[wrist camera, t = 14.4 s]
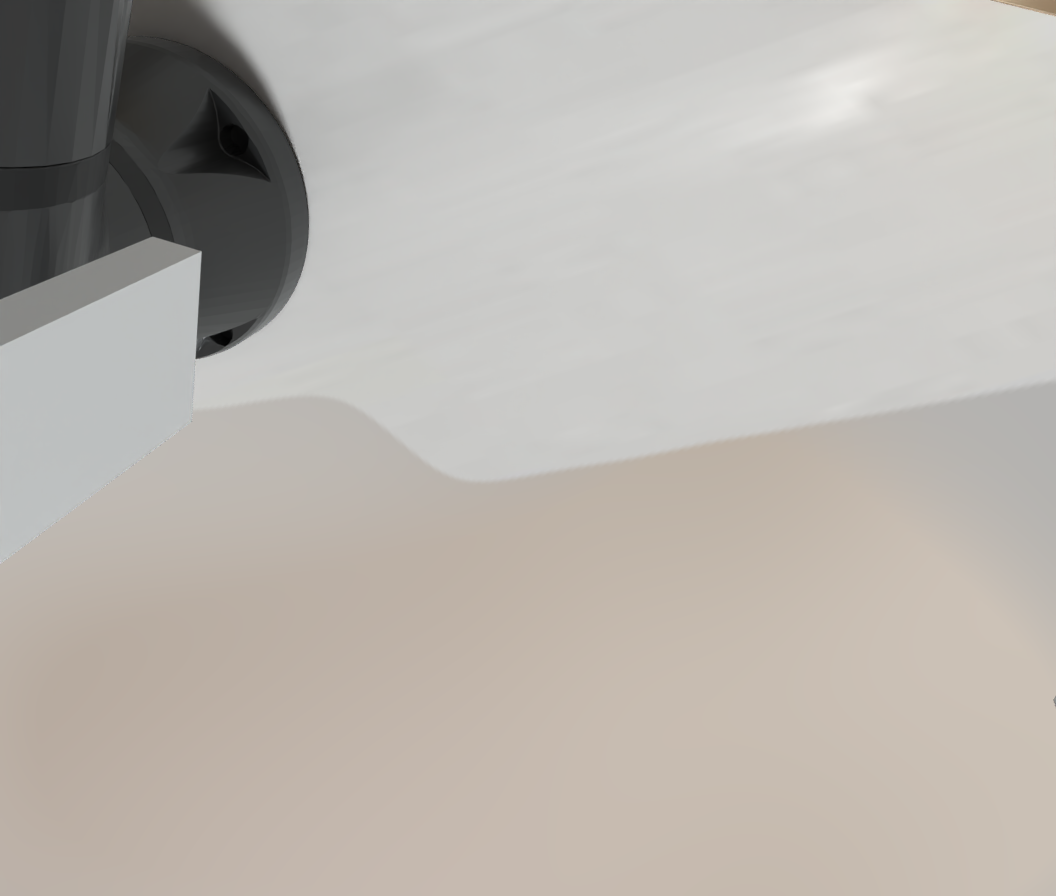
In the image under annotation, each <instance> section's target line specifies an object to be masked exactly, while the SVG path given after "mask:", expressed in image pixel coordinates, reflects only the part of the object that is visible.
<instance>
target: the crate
mask: <svg viewBox="0 0 1056 896" xmlns="http://www.w3.org/2000/svg"><path fill="white" fill-rule="evenodd" d="M992 1H996V2H1000V3H1004V4H1008V5H1012V6H1017V7H1021V8H1025V9H1029V10H1033V11H1037V12H1041V13H1045V14H1049V15H1053V16H1056V0H992Z"/></svg>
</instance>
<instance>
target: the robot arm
mask: <svg viewBox="0 0 1056 896" xmlns="http://www.w3.org/2000/svg"><path fill="white" fill-rule="evenodd" d="M131 7H132V0H0V564H1V563H2V562H3V561H5V560H6V559H7V558H9V557H10V556H12V555H13V554H14V553H16V552H17V551H18V550H20V549H21V548H22V547H24V546H25V545H26V544H28V543H29V542H30V541H32V540H33V539H34V538H36V537H37V536H38V535H40V534H41V533H42V532H44V531H45V530H47V529H48V528H49V527H51V526H52V525H53V524H55V523H56V522H57V521H59V520H60V519H61V518H63V517H64V516H65V515H67V514H68V513H69V512H71V511H72V510H73V509H75V508H76V507H77V506H79V505H80V504H82V503H83V502H84V501H86V500H87V499H88V498H90V497H91V496H92V495H94V494H95V493H96V492H97V491H99V490H100V489H102V488H103V487H104V486H105V485H107V484H108V483H110V482H111V481H112V480H114V479H115V478H117V477H118V476H119V475H120V474H122V473H123V472H125V471H126V470H127V469H129V468H130V467H131V466H133V465H134V464H135V463H137V462H138V461H139V460H140V459H142V458H143V457H145V456H146V455H147V454H149V453H150V452H151V451H153V450H154V449H156V448H157V447H158V446H160V445H161V444H162V443H164V442H165V441H166V440H168V439H169V438H170V437H172V436H173V435H174V434H176V433H177V432H178V431H180V430H181V429H182V428H184V427H185V426H186V425H188V424H189V423H190V422H192V410H193V392H194V375H195V359H200V358H205V357H208V356H212V355H215V354H218V353H220V352H223V351H225V350H228V349H230V348H232V347H234V346H236V345H237V344H239V343H240V342H242V341H244V340H245V339H247V338H248V337H250V336H251V335H253V334H254V333H256V332H257V331H259V330H260V329H262V328H263V327H264V326H266V325H267V324H268V323H269V322H270V321H271V320H272V319H274V318H275V317H276V315H277V314H278V313H279V312H280V311H281V310H282V308H283V307H284V306H285V304H286V303H287V302H288V300H289V298H290V297H291V295H292V293H293V291H294V289H295V287H296V285H297V283H298V281H299V278H300V276H301V272H302V269H303V266H304V262H305V257H306V252H307V245H308V226H309V221H308V208H307V200H306V194H305V190H304V185H303V181H302V177H301V174H300V171H299V168H298V165H297V162H296V159H295V157H294V154H293V152H292V150H291V147H290V145H289V143H288V141H287V139H286V137H285V135H284V134H283V132H282V130H281V128H280V127H279V125H278V123H277V122H276V120H275V119H274V117H273V116H272V114H271V113H270V112H269V110H268V109H267V108H266V106H265V105H264V104H263V103H262V101H261V100H260V99H259V98H258V97H257V95H256V94H255V93H254V92H253V91H252V90H251V89H250V88H249V87H248V86H247V85H246V84H245V83H244V82H243V81H242V80H241V79H239V78H238V77H237V76H236V75H235V74H234V73H232V72H231V71H230V70H229V69H227V68H226V67H224V66H223V65H222V64H220V63H219V62H217V61H216V60H214V59H212V58H211V57H209V56H207V55H205V54H203V53H201V52H199V51H197V50H195V49H193V48H191V47H188V46H186V45H183V44H180V43H177V42H174V41H170V40H165V39H160V38H154V37H127V35H128V28H129V21H130V14H131ZM1054 703H1055V706H1056V697H1055V698H1054Z"/></svg>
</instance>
